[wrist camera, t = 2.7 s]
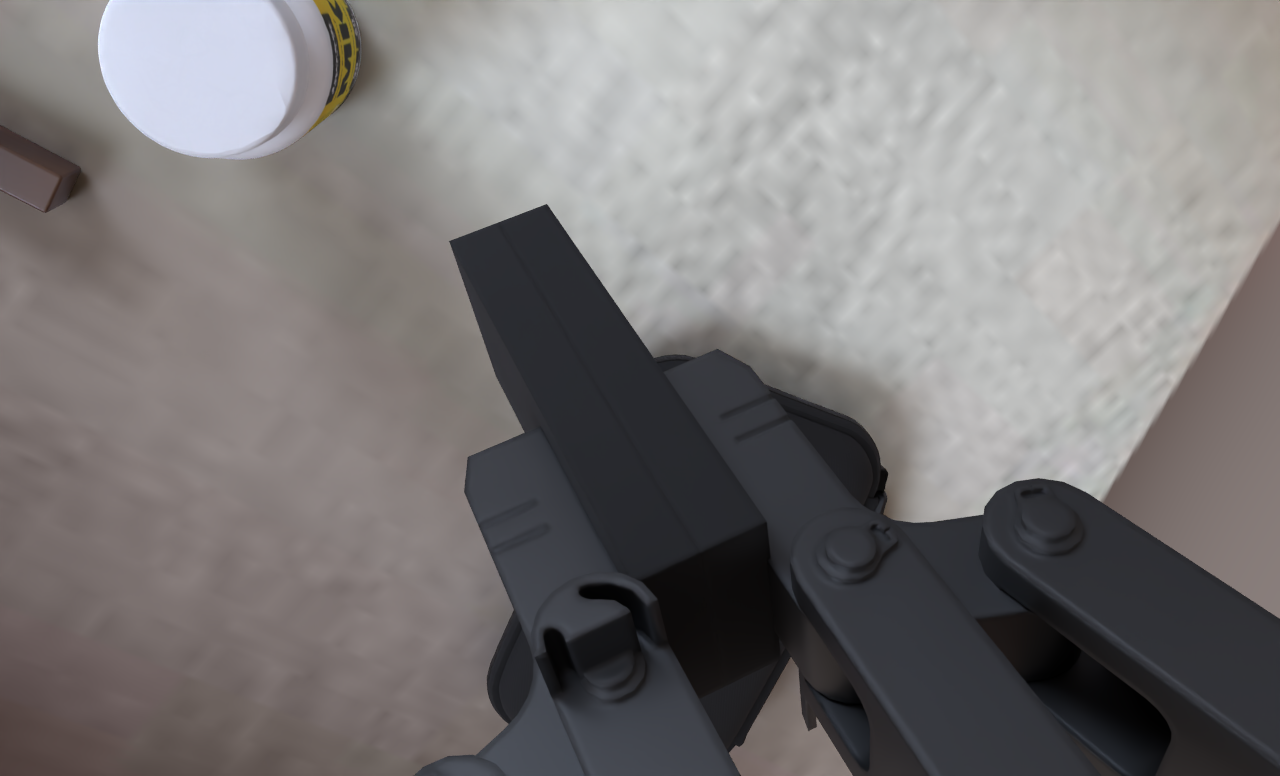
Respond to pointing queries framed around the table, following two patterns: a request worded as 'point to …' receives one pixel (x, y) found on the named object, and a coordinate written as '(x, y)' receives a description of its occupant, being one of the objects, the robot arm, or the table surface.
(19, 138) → the bay
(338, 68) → the supplement bottle
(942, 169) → the table surface
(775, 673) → the carrying case
